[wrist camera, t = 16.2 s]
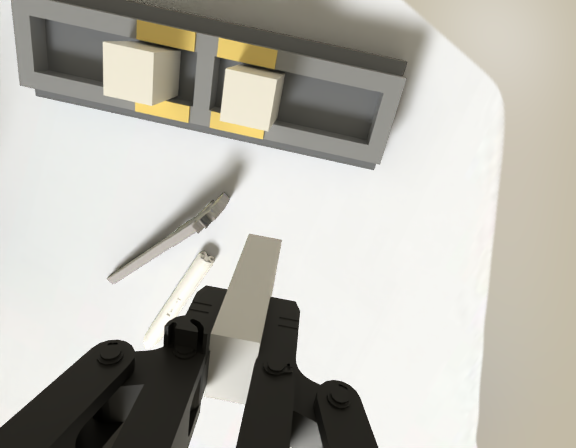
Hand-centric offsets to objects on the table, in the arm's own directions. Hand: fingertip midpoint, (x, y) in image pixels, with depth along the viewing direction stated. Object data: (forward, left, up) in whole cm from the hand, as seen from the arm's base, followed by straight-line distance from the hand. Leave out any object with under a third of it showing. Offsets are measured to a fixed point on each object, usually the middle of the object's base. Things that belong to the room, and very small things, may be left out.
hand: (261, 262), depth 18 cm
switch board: (-9, +4, -24) cm, 26 cm away
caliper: (-13, -15, -25) cm, 32 cm away
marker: (-11, -24, -25) cm, 36 cm away
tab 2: (-4, +4, -22) cm, 23 cm away
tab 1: (-14, +4, -22) cm, 27 cm away
